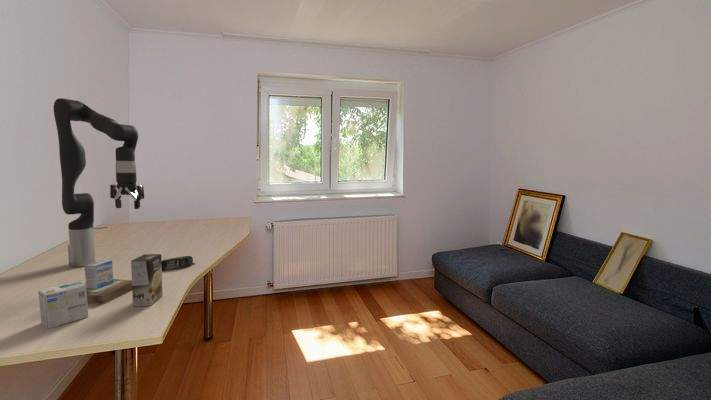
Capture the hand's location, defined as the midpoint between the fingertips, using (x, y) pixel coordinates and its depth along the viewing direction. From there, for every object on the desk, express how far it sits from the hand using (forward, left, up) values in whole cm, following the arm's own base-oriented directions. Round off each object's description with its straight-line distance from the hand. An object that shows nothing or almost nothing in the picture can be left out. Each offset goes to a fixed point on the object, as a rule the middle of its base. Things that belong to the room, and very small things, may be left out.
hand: (127, 208), depth 160 cm
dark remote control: (+17, +9, -28) cm, 34 cm away
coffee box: (+30, -30, -28) cm, 51 cm away
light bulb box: (+15, -48, -28) cm, 58 cm away
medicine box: (+9, -27, -25) cm, 38 cm away
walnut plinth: (+9, -27, -28) cm, 40 cm away
